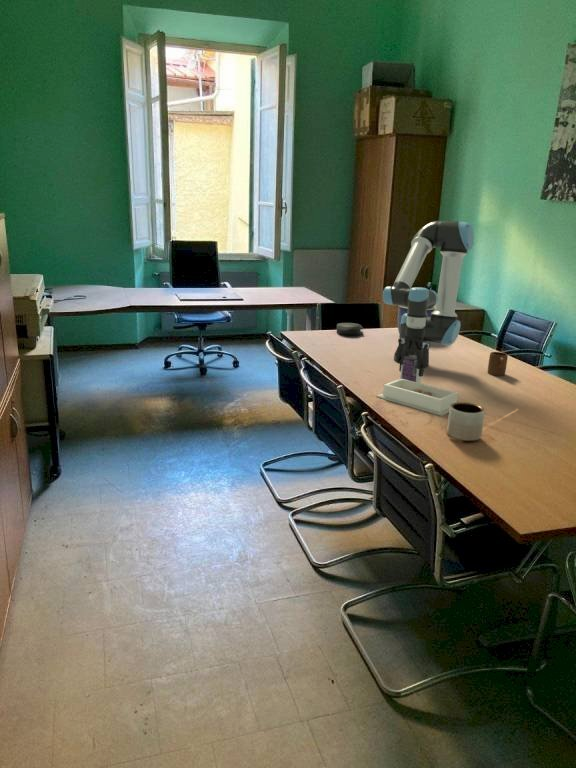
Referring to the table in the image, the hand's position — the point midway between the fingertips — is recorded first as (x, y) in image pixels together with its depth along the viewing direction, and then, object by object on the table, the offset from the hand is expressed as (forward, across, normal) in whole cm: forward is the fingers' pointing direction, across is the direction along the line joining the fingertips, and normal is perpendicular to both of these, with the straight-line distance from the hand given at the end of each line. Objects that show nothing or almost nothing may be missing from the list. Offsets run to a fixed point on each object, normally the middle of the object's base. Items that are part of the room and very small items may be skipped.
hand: (410, 381), depth 237 cm
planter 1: (+2, -45, +77) cm, 89 cm away
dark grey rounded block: (+2, -74, +55) cm, 92 cm away
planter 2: (+2, +42, -35) cm, 55 cm away
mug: (+2, +18, +43) cm, 47 cm away
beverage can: (+2, 0, 0) cm, 2 cm away
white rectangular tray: (+2, +14, -16) cm, 21 cm away
